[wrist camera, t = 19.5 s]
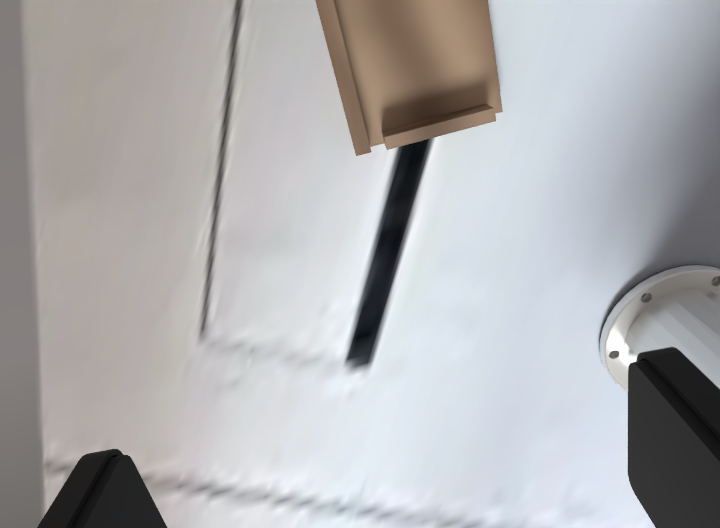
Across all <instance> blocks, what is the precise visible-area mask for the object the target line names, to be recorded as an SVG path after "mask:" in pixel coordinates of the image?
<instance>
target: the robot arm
mask: <svg viewBox="0 0 720 528" xmlns="http://www.w3.org/2000/svg"><path fill="white" fill-rule="evenodd" d="M600 355H601V359H602V363H603V365H604V367H605V369H606V371H607V373H608V374H609V375H610V376H611V378H612V379H613V380H614V381H615V383H616V384H617V385H619V386H620V387H621V388H622V389H624V390H625V391H627V392H628V476H629V481H630V484H631V486H632V489H633V491H634V493H635V495H636V496H637V498H638V500H639V501H640V503H641V504H642V506H643V508H644V509H645V511H646V513H647V514H648V516H649V517H650V519H651V521H652V522H653V524H654V525H655V527H656V528H720V269H718V268H715V267H712V266H702V265H691V266H681V267H677V268H673V269H669V270H666V271H663V272H661V273H658V274H656V275H653V276H651V277H650V278H648V279H646V280H645V281H643V282H641V283H639V284H638V285H637V286H635V287H634V288H633V289H632V290H630V291H629V292H628V293H627V294H626V295H625V296H624V297H623V298H622V299H621V300H620V301H619V302H618V303H617V304H616V306H615V307H614V309H613V310H612V312H611V313H610V315H609V316H608V318H607V320H606V323H605V325H604V327H603V330H602V334H601V339H600ZM37 528H167V526H166V524H165V522H164V521H163V519H162V517H161V515H160V513H159V511H158V509H157V507H156V505H155V503H154V501H153V499H152V497H151V495H150V493H149V491H148V489H147V488H146V486H145V484H144V482H143V480H142V478H141V476H140V474H139V472H138V470H137V468H136V466H135V464H134V462H133V460H132V459H131V457H130V456H128V455H123V454H122V452H121V451H119V450H118V449H111V450H106V451H100V452H95V453H89V454H86V455H84V456H82V458H81V459H80V460H79V461H78V463H77V465H76V466H75V468H74V469H73V471H72V473H71V474H70V476H69V477H68V479H67V481H66V482H65V484H64V485H63V487H62V489H61V490H60V492H59V494H58V495H57V497H56V498H55V500H54V502H53V503H52V505H51V506H50V508H49V510H48V511H47V513H46V514H45V516H44V518H43V519H42V521H41V522H40V524H39V526H38V527H37Z"/></svg>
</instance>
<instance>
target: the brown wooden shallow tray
mask: <svg viewBox="0 0 720 528" xmlns="http://www.w3.org/2000/svg"><path fill="white" fill-rule="evenodd" d="M316 4H317V8H318V12H319V15H320V19H321V23H322V27H323V31H324V35H325V38H326V42H327V46H328V50H329V54H330V57H331V61H332V65H333V69H334V73H335V77H336V80H337V84H338V88H339V92H340V96H341V100H342V103H343V107H344V111H345V115H346V119H347V123H348V126H349V130H350V134H351V138H352V142H353V146H354V149H355V153H356V156H358V155H362V154H366V153H370V152H371V149H370V147H372V146H375V145H379V144H383V143H385V146H386V148H387V150H388V149H392V148H396V147H399V146H403V145H407V144H411V143H415V142H418V141H422V140H426V139H430V138H433V137H437V136H441V135H445V134H448V133H452V132H456V131H460V130H464V129H467V128H471V127H475V126H479V125H482V124H486V123H490V122H494V121H496V117H495V114H496V113H499V112H503V111H502V104H501V96H500V89H499V81H498V74H497V67H496V59H495V52H494V44H493V37H492V29H491V22H490V15H489V7H488V0H316Z"/></svg>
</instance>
